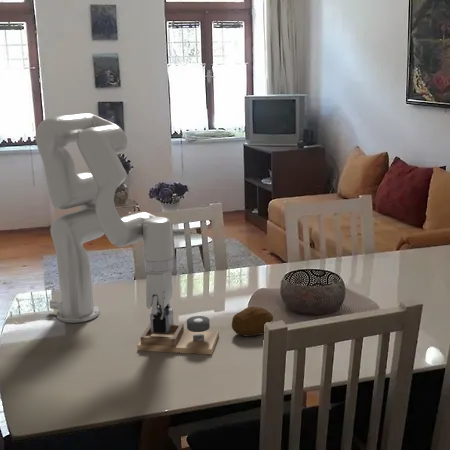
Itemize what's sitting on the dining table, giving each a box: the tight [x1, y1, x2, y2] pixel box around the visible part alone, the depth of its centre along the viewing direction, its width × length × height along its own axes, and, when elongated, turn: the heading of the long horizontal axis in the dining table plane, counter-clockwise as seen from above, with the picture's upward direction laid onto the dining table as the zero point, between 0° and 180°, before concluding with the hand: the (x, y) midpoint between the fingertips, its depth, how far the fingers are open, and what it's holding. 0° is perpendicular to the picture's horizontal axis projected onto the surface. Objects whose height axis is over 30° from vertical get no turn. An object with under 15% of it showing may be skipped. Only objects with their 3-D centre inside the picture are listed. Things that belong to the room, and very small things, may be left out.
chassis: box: [136, 322, 220, 355], centre depth 166 cm, size 20×11×4 cm, turn 81°
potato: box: [231, 306, 274, 337], centre depth 171 cm, size 8×12×8 cm, turn 120°
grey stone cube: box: [149, 307, 175, 333], centre depth 166 cm, size 5×5×5 cm
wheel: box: [186, 315, 211, 332], centre depth 164 cm, size 6×6×2 cm
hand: (162, 327), depth 166 cm, fingers closed on grey stone cube, 4 cm apart
